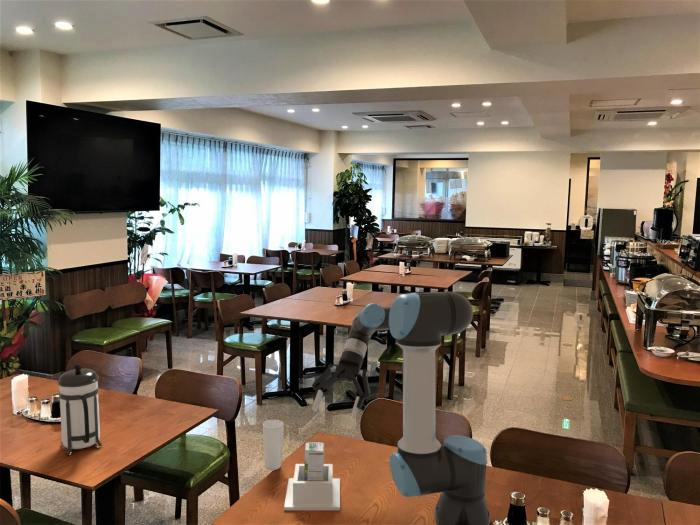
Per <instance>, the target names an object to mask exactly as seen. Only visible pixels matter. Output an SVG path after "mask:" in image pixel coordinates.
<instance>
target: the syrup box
mask: <svg viewBox="0 0 700 525" xmlns="http://www.w3.org/2000/svg"><path fill="white" fill-rule="evenodd" d="M304 448H305V450H304V463H303V464H304V481H323V474H324V464H325V443H324V442H315V441H314V442H313V441H312V442H306V443H305V447H304Z"/></svg>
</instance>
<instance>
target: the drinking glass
mask: <svg viewBox="0 0 700 525" xmlns="http://www.w3.org/2000/svg"><path fill="white" fill-rule="evenodd" d="M284 429H285V428H284V422H283V421H281V420H278V419H270V420H265V421H264V422H263V424H262V441H263V442H262V444H263V451H264V452H263V453H264V466H265V469H266V470H270V471H276V470H279V469H280V468H281V467H282V456H283V445H284V444H283V443H284V433H285V432H284Z"/></svg>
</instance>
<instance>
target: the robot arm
mask: <svg viewBox="0 0 700 525" xmlns="http://www.w3.org/2000/svg"><path fill="white" fill-rule="evenodd" d="M473 318H474V310H473V306H472V303H471V302H470V300H469V299H467V297H466V296H464V295H462V294H461V293H458V292H455V291H438V292H411V293H402V294H400V295H398V296H397V297H395V298H394V300H393V301H392V304H391V305H390V306H384V307H383V306H381V305H380V304H378V303H375V302H371V303H369V304H366V305H365V307H364V308H363V309H361V311H360V312H358V313H357V314H355V316H354V318H353V320H352V323H351V327H350V330H349V332H348V336H347V338H346V341H345V344H344V347H343V349H342V353H341V355H340V358H339V362H338V364H337V365H333V364H332V363H329V364H328V366H327V368H326V369H325V370H324V371H323V373H322V374H320V376H318V377H317V379H316V380H315V381H314V382H312V384H311V386H312V388H313V390H315V392H314V395H313V397H312V398H313V400H314V401H313V404H312V406H311V410H312V411H314V412H316V413H318V410H319V406H320V404H321V402H322V398H323V395H324V391H325V390H327V389H328V388H329V387H331V386H332V385H333V384H334V383H336V382H339V381H343V382H348V383H350V382H353V383H352V384H353V385H354V387H355V389H356V391H357V393H358V394H357V395H358V396H356V398H355V400H354V405H353V406H352V411H351V414H350V416H351V418H352V420H356V419H357V416H358V412H359V410H361V409H362V408H363V404H364V402H365V401H366V400H371V399H372V398H371V397H372V396H371V390H370V385H369V381H368V380H369V379H368V378H369V372H368V370H367V368H364V369H361V368H362V366H363V362H364V358H365V356H366V352H367V349H368V346H369V343H370V341H371V338H372V335H373V334H374V333H375V332H376V331H386V330H389V332H390V335H391V336H392V338H394V339H396V340H397V343H396V344H397V345H398V347H400V348H401V349H402V430H403V431H402V434H403V435H402V438H400V439H399V440H398V441H397V451H393V452H392V453H391V454H390V456H389V469H390V473H391V477H392V480H393V482H394V486H395V487H396V490H397V491H398V493H400V494H401V495H402V496H403V497H405V498H413V497H417V498H420V497H421V496H426V495H432V494H439V493H440V495H439V498H438V500H437V504H436V505H435V508H434V520H435V522H436V524H437V525H491V524H490V523H491V514H490V511H489V509H488V505H487V500H486V497H485V496H486V478H487V477H486V476H487V465H488V459H487V450H486V447H485V445H484V444H482V443H481V442H480V441H478V440H476V439H474V438H472V437H469V436H464V435H457V434H453V435H447V436H446V437H445V438H444V440H443V445H442V444H441V442H440V441H439V440H438V439H437V438H436V350H437V349H438V348H440V347H441V345H442V336H451V335H454V334H455V335H456V334H459V333H461V332H463V331H465V330H466V329H467V328H468V327H469V326H470V324H471V323H472V320H473ZM359 375H360V376H361V378H362V384H363V388H364V392H363V391H362V388H361V386H360V384H359V382H358V380H357V377H358V376H359Z"/></svg>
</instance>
